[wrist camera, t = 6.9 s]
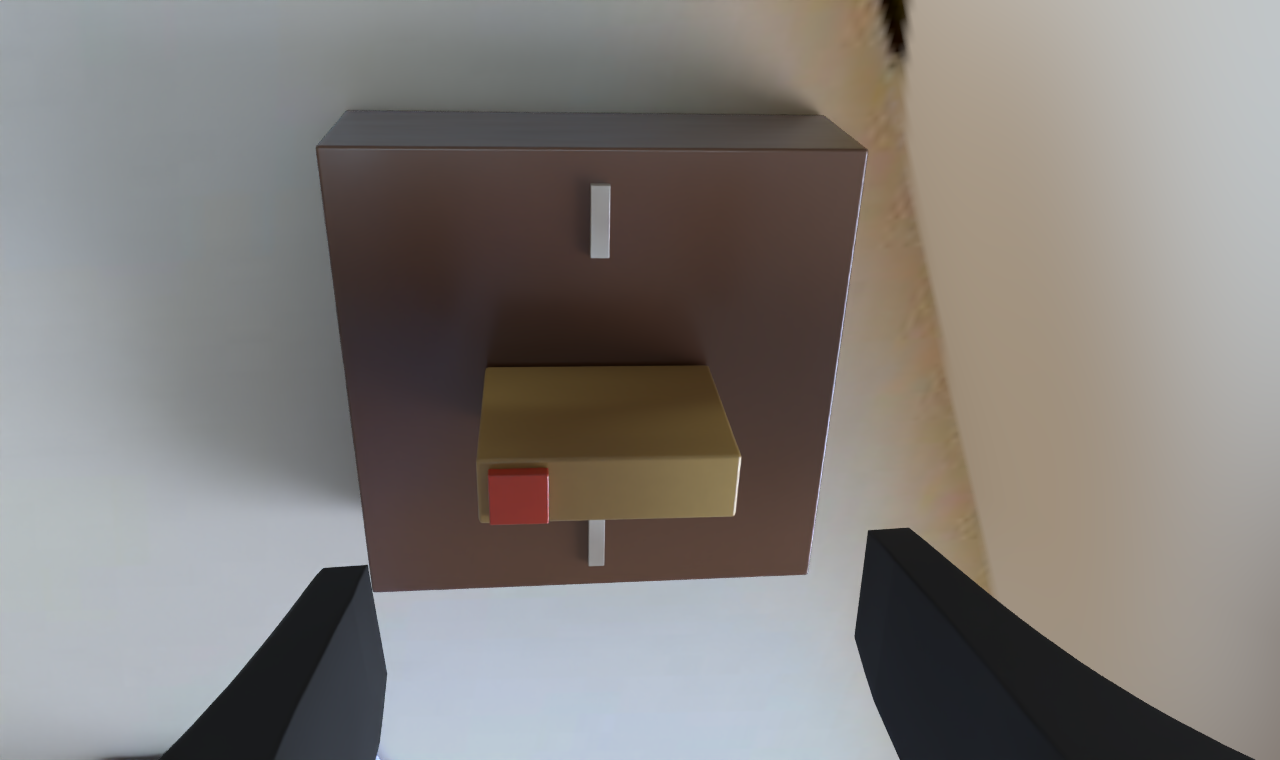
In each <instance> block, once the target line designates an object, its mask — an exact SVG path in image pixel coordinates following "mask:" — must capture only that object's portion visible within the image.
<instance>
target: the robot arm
mask: <svg viewBox="0 0 1280 760" xmlns="http://www.w3.org/2000/svg"><path fill="white" fill-rule="evenodd" d="M855 640H856V644H857V647H858V651H859V654H860V658H861V661H862V665H863V668H864V672H865V675H866V678H867V681H868V684H869V687H870V690H871V694H872V697H873V700H874V702H875V705H876V707H877V709H878V711H879V714H880V716H881V718H882V721H883V723H884V725H885V727H886V730H887V732H888V734H889V736H890V739H891V741H892V743H893V745H894V748H895V750H896V752H897V754H898V756H899V759H900V760H1255V759H1253V758H1251V757H1248V756H1246V755H1244V754H1242V753H1240V752H1238V751H1236V750H1234V749H1232V748H1229V747H1227V746H1225V745H1223V744H1221V743H1220V742H1218V741H1216V740H1214V739H1212V738H1210V737H1208V736H1206V735H1204V734H1202V733H1200V732H1198V731H1196V730H1194V729H1193V728H1191V727H1189V726H1187V725H1185V724H1183V723H1181V722H1179V721H1177V720H1176V719H1174V718H1172V717H1170V716H1168V715H1166V714H1165V713H1163V712H1161V711H1159V710H1158V709H1156V708H1154V707H1152V706H1150V705H1149V704H1147V703H1145V702H1144V701H1142V700H1140V699H1139V698H1137V697H1135V696H1134V695H1132V694H1130V693H1129V692H1127V691H1126V690H1124V689H1122V688H1121V687H1119V686H1117V685H1116V684H1114V683H1113V682H1111V681H1109V680H1108V679H1106V678H1104V677H1103V676H1101V675H1100V674H1098V673H1097V672H1095V671H1093V670H1092V669H1090V668H1089V667H1087V666H1086V665H1084V664H1083V663H1081V662H1080V661H1078V660H1077V659H1075V658H1074V657H1073V656H1071V655H1070V654H1068V653H1067V652H1066V651H1064V650H1063V649H1061V648H1060V647H1058V646H1057V645H1056V644H1054V643H1053V642H1051V641H1050V640H1049V639H1047V638H1046V637H1044V636H1043V635H1041V634H1040V633H1039V632H1038V631H1036V630H1035V629H1033V628H1032V627H1031V626H1029V625H1028V624H1027V623H1026V622H1024V621H1023V620H1022V619H1020V618H1019V617H1018V616H1016V615H1015V614H1014V613H1013V612H1011V611H1010V610H1009V609H1007V608H1006V607H1005V606H1003V605H1002V604H1001V603H1000V602H999V601H997V600H996V599H995V598H993V597H992V596H991V595H990V594H989V593H987V592H986V591H985V590H984V589H982V588H981V587H980V586H979V585H977V584H976V583H975V582H974V581H973V580H971V579H970V578H969V577H968V576H967V575H965V574H964V573H963V572H962V571H961V570H959V569H958V568H957V567H956V566H955V565H953V564H952V563H951V562H950V561H949V560H947V559H946V558H945V557H944V556H943V555H941V554H940V553H939V552H938V551H937V550H936V549H934V548H933V547H932V546H931V545H930V544H928V543H927V542H926V541H925V540H923V539H922V538H921V537H920V536H919V535H917V534H916V533H915V532H914V531H912V530H911V529H910V528H897V529H883V530H868V536H867V544H866V551H865V559H864V567H863V575H862V582H861V590H860V598H859V606H858V613H857V621H856V629H855ZM386 680H387V670H386V665H385V659H384V654H383V648H382V643H381V637H380V632H379V626H378V621H377V615H376V609H375V604H374V598H373V593H372V587H371V582H370V576H369V571H368V565H361V566H346V567H332V568H323V569H322V570H321V571H320V572H319V573H318V574H317V575H316V576H315V578H314V579H313V580H312V581H311V583H310V584H309V585H308V587H307V588H306V589H305V591H304V592H303V593H302V595H301V596H300V597H299V599H298V600H297V601H296V603H295V604H294V605H293V607H292V608H291V609H290V611H289V612H288V613H287V614H286V616H285V617H284V618H283V620H282V621H281V622H280V623H279V625H278V626H277V627H276V629H275V630H274V631H273V632H272V634H271V635H270V636H269V637H268V639H267V640H266V641H265V642H264V644H263V645H262V646H261V647H260V648H259V650H258V651H257V652H256V653H255V654H254V656H253V657H252V658H251V659H250V660H249V662H248V663H247V664H246V665H245V667H244V668H243V669H242V670H241V671H240V673H239V674H238V675H237V676H236V677H235V679H234V680H233V681H232V682H231V683H230V684H229V685H228V687H227V688H226V689H225V690H224V691H223V692H222V693H221V694H220V695H219V696H218V698H217V699H216V700H215V701H214V702H213V703H212V704H211V705H210V706H209V707H208V708H207V710H206V711H205V712H204V713H203V714H202V715H201V716H200V717H199V718H198V719H197V721H196V722H195V723H194V724H193V725H192V726H191V727H190V728H189V729H188V730H187V731H186V732H185V733H184V734H183V735H182V736H181V737H180V738H179V739H178V740H177V741H176V742H175V743H174V744H173V745H172V747H171V748H170V749H169V750H168V751H166V752H165V753H164V754H163V755H162V756H161V757H160V758H159V759H158V760H380V758H379V756H377V752H378V747H379V743H380V735H381V727H382V718H383V709H384V699H385V689H386Z"/></svg>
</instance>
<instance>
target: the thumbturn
mask: <svg viewBox="0 0 1280 760" xmlns="http://www.w3.org/2000/svg"><path fill="white" fill-rule="evenodd" d="M740 467H741V454H740V451H739V449H738V446H737V443H736V440H735V438H734V435H733V432H732V429H731V427H730V424H729V421H728V419H727V416H726V413H725V410H724V408H723V405H722V402H721V399H720V397H719V394H718V391H717V388H716V386H715V383H714V380H713V377H712V375H711V372H710V369H709V367H708V366H706V365H693V366H582V367H488V368H486V370H485V378H484V388H483V398H482V407H481V417H480V427H479V437H478V447H477V457H476V473H477V494H478V515H479V521H480V522H481V523H490V525H513V524H547V523H549V521H581V520H618V519H656V518H694V517H732V516H734V515H735V513H736V504H737V495H738V486H739V476H740Z"/></svg>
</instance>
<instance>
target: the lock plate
mask: <svg viewBox="0 0 1280 760" xmlns="http://www.w3.org/2000/svg"><path fill="white" fill-rule="evenodd" d="M316 155H317V163H318V171H319V179H320V186H321V194H322V202H323V210H324V218H325V225H326V233H327V241H328V249H329V256H330V264H331V272H332V280H333V288H334V295H335V303H336V311H337V319H338V326H339V334H340V342H341V350H342V358H343V365H344V373H345V381H346V389H347V396H348V404H349V412H350V420H351V428H352V435H353V443H354V451H355V459H356V466H357V474H358V482H359V490H360V498H361V505H362V513H363V521H364V529H365V536H366V544H367V552H368V560H369V568H370V575H371V583H372V590H373V592H395V591H420V590H444V589H468V588H493V587H517V586H541V585H566V584H590V583H614V582H639V581H663V580H687V579H712V578H736V577H760V576H785V575H806V574H808V570H809V563H810V556H811V549H812V542H813V535H814V528H815V521H816V514H817V507H818V500H819V493H820V486H821V479H822V472H823V465H824V458H825V451H826V444H827V437H828V430H829V423H830V416H831V409H832V402H833V395H834V388H835V381H836V374H837V367H838V360H839V353H840V346H841V339H842V332H843V325H844V318H845V311H846V304H847V297H848V290H849V283H850V276H851V269H852V262H853V255H854V248H855V241H856V234H857V227H858V220H859V213H860V206H861V199H862V192H863V185H864V178H865V171H866V164H867V157H868V149H866V148H865V147H864V146H862V145H861V144H860V143H859V142H857V141H856V140H855V139H854V138H852V137H851V136H850V135H848V134H847V133H846V132H845V131H843V130H842V129H841V128H840V127H838V126H837V125H836V124H834V123H833V122H832V121H831V120H829V119H828V118H827V117H826V116H822V115H725V114H628V113H530V112H433V111H345V113H344V114H343V115H342V116H341V117H340V119H339V120H338V121H337V122H336V123H335V124H334V126H333V127H332V128H331V129H330V130H329V132H328V133H327V134H326V135H325V136H324V138H323V139H322V140H321V141H320V142H319V143H318V145H317V146H316ZM693 365H706V366H708V367H709V369H710V372H711V375H712V377H713V380H714V383H715V386H716V388H717V391H718V394H719V397H720V399H721V402H722V405H723V408H724V410H725V413H726V416H727V419H728V421H729V424H730V427H731V429H732V432H733V435H734V438H735V440H736V443H737V446H738V449H739V451H740V454H741V467H740V476H739V486H738V495H737V504H736V513H735V515H734V516H732V517H694V518H656V519H618V520H581V521H549V523H547V524H513V525H490V523H481V522H480V521H479V515H478V494H477V473H476V457H477V447H478V437H479V427H480V417H481V407H482V398H483V388H484V378H485V370H486V368H488V367H582V366H693Z"/></svg>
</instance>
